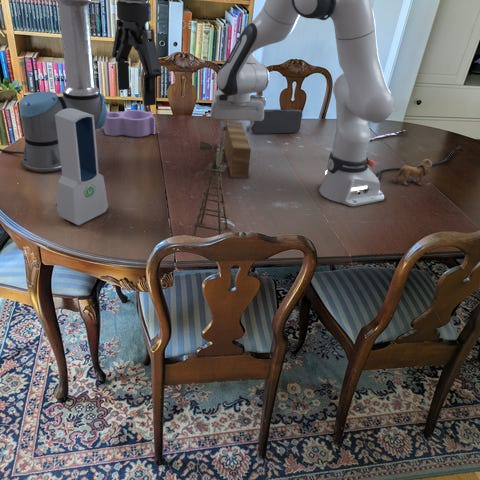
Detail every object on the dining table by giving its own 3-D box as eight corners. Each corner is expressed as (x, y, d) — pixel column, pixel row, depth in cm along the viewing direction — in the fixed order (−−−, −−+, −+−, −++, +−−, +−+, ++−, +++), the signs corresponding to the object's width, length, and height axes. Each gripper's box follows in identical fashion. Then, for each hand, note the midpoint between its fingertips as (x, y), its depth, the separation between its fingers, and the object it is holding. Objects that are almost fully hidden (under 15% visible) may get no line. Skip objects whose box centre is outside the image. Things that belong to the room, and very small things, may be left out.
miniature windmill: (221, 244, 128) (229, 139, 111) (191, 238, 129) (195, 134, 112) (228, 227, 135) (237, 127, 119) (200, 222, 136) (205, 122, 120)
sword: (403, 130, 224) (403, 128, 224) (408, 133, 222) (409, 130, 222) (360, 142, 209) (360, 139, 208) (365, 144, 207) (365, 142, 206)
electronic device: (75, 227, 128) (63, 121, 112) (57, 218, 131) (42, 113, 115) (109, 210, 137) (102, 110, 121) (90, 202, 140) (81, 103, 124)
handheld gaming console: (297, 130, 211) (300, 108, 206) (299, 132, 209) (303, 110, 204) (249, 131, 204) (252, 109, 199) (252, 134, 202) (254, 111, 197)
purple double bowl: (105, 137, 184) (104, 120, 180) (103, 126, 193) (101, 110, 190) (156, 136, 190) (156, 119, 186) (151, 125, 200) (151, 109, 196)
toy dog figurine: (420, 178, 179) (427, 156, 174) (429, 184, 174) (437, 162, 170) (388, 181, 174) (395, 158, 169) (397, 187, 170) (404, 164, 165)
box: (247, 177, 165) (250, 148, 159) (230, 177, 164) (233, 148, 158) (238, 149, 187) (241, 122, 181) (223, 148, 186) (225, 122, 180)
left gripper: (178, 10, 97) (176, 110, 109) (124, -7, 113) (127, 82, 125) (145, 9, 93) (147, 114, 105) (94, -8, 109) (100, 84, 121)
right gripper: (265, 93, 175) (261, 128, 183) (211, 90, 173) (209, 126, 180) (267, 98, 170) (264, 134, 178) (211, 95, 168) (210, 132, 175)
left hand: (136, 97), depth 115 cm, fingers open, 13 cm apart
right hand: (236, 130), depth 179 cm, fingers open, 8 cm apart
